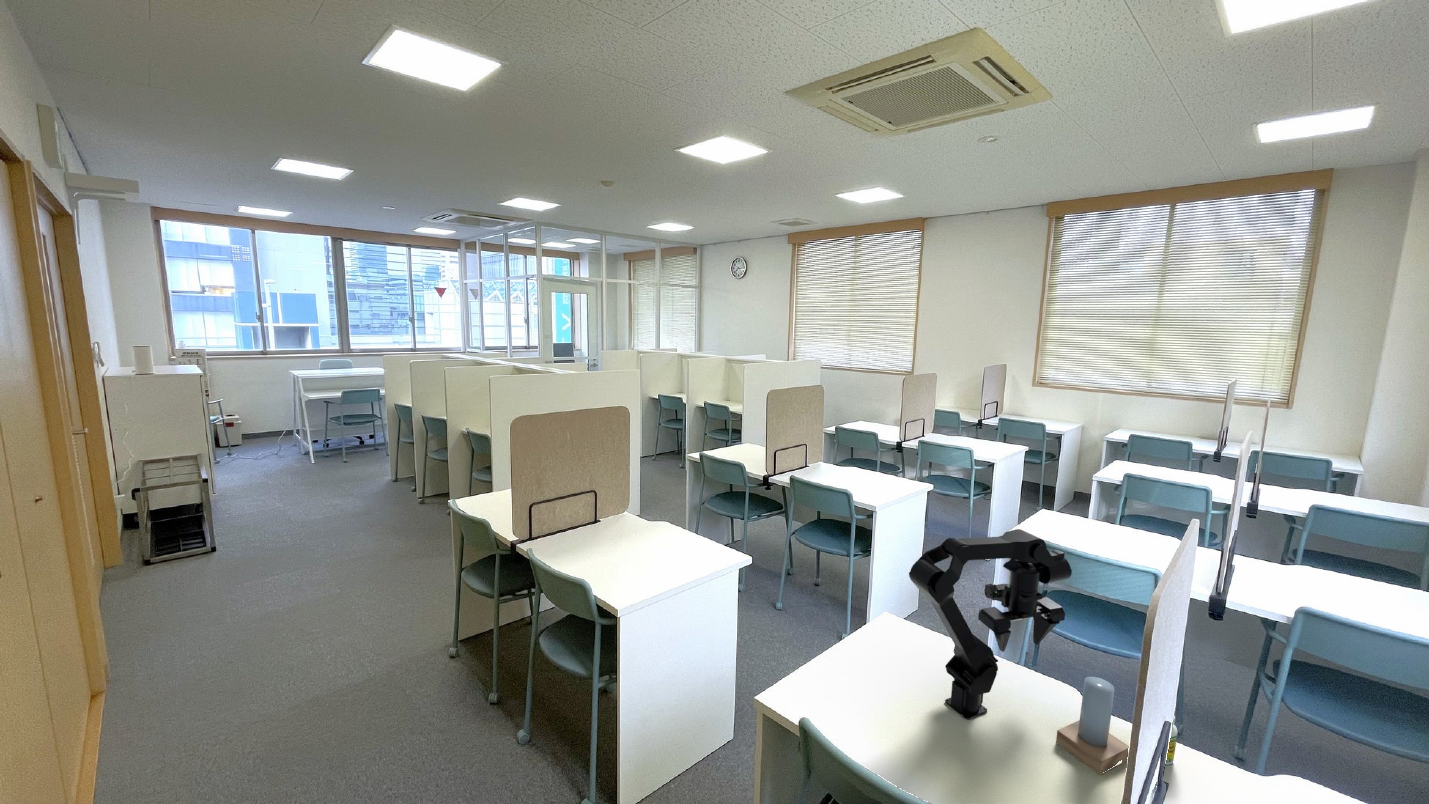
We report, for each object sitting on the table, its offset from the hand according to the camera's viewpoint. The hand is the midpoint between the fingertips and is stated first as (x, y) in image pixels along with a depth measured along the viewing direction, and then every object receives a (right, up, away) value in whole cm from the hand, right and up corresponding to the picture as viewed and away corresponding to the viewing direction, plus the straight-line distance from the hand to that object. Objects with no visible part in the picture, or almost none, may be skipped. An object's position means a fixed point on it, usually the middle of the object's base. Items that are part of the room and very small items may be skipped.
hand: (1018, 647), depth 131 cm
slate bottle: (+7, -12, -16) cm, 21 cm away
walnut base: (+7, -15, -15) cm, 22 cm away
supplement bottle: (+19, -15, -16) cm, 29 cm away
